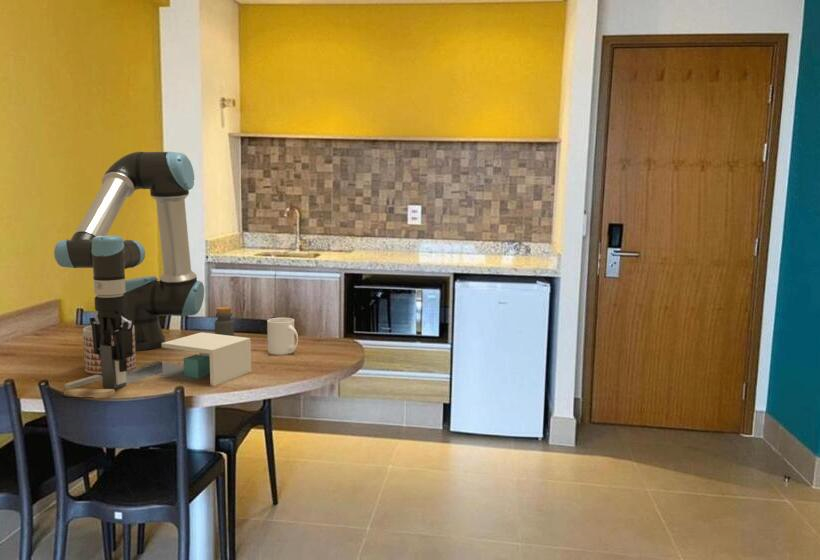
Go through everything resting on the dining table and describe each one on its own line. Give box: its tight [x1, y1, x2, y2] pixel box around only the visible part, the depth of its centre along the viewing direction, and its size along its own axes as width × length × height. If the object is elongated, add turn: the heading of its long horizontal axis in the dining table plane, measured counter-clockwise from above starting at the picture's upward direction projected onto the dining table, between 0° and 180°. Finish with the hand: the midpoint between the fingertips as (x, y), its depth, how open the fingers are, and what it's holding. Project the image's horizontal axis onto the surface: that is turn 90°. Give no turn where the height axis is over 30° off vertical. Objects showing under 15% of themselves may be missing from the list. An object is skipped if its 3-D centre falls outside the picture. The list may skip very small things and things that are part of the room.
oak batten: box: [63, 387, 116, 399], centre depth 168 cm, size 12×2×2 cm, turn 88°
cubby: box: [161, 331, 252, 387], centre depth 187 cm, size 18×16×10 cm
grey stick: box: [64, 375, 103, 390], centre depth 179 cm, size 2×10×2 cm, turn 156°
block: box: [183, 354, 210, 378], centre depth 187 cm, size 5×5×5 cm
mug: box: [266, 317, 299, 356], centre depth 215 cm, size 9×12×11 cm
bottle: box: [214, 306, 235, 336], centre depth 213 cm, size 6×6×15 cm
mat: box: [155, 362, 210, 382], centre depth 191 cm, size 22×11×1 cm, turn 66°
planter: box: [82, 324, 137, 376], centre depth 193 cm, size 14×14×13 cm
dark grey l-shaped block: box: [100, 341, 163, 392], centre depth 181 cm, size 4×18×12 cm, turn 156°
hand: (114, 381), depth 175 cm, fingers closed on dark grey l-shaped block, 4 cm apart
